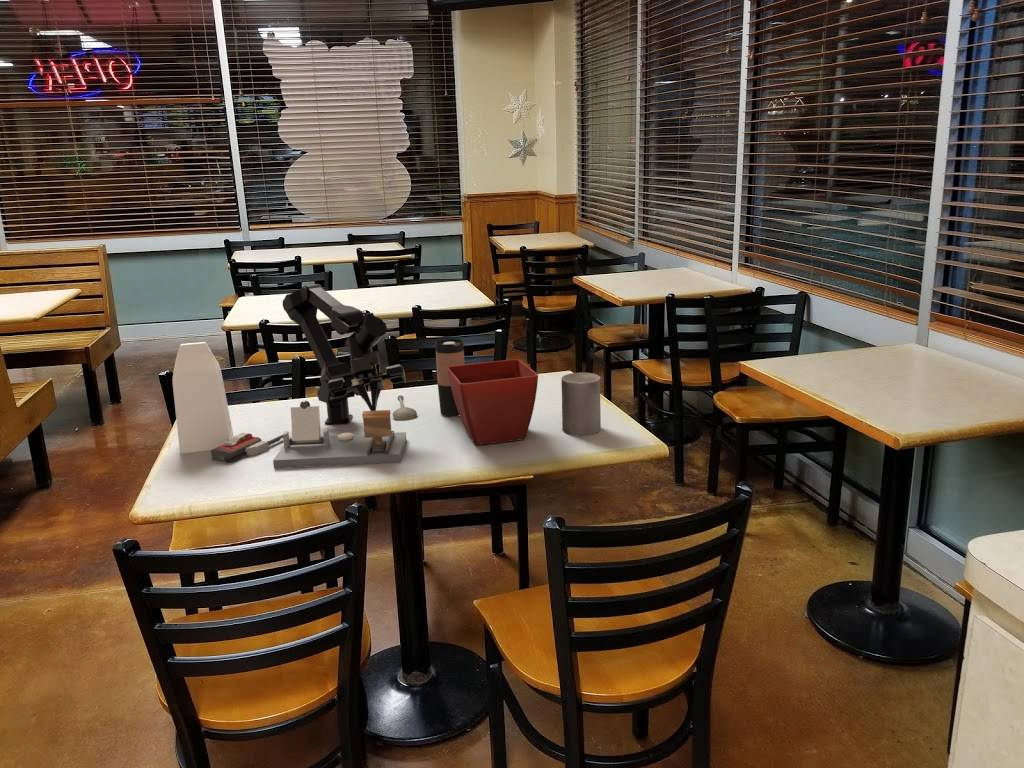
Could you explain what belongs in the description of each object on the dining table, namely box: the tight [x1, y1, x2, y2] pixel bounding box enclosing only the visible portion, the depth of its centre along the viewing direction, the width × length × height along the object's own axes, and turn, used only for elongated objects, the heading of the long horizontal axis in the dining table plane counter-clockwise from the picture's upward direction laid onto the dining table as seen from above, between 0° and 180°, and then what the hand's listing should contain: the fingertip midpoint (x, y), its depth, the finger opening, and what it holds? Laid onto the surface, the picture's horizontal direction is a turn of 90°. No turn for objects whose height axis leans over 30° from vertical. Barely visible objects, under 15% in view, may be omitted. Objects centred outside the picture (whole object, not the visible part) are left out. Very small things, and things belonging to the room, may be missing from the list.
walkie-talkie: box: [210, 432, 283, 464], centre depth 205 cm, size 9×4×20 cm
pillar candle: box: [560, 372, 602, 437], centre depth 208 cm, size 10×10×15 cm
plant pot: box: [447, 358, 539, 446], centre depth 206 cm, size 19×19×17 cm
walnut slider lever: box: [361, 409, 392, 452], centre depth 194 cm, size 4×6×9 cm, turn 92°
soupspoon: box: [392, 395, 418, 422], centre depth 234 cm, size 22×3×7 cm
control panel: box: [272, 428, 407, 469], centre depth 200 cm, size 16×29×6 cm, turn 92°
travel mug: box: [434, 338, 466, 418], centre depth 226 cm, size 8×8×20 cm
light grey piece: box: [289, 400, 324, 445], centre depth 200 cm, size 2×8×11 cm, turn 92°
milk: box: [172, 341, 234, 454], centre depth 209 cm, size 12×12×26 cm
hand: (373, 412), depth 204 cm, fingers closed
